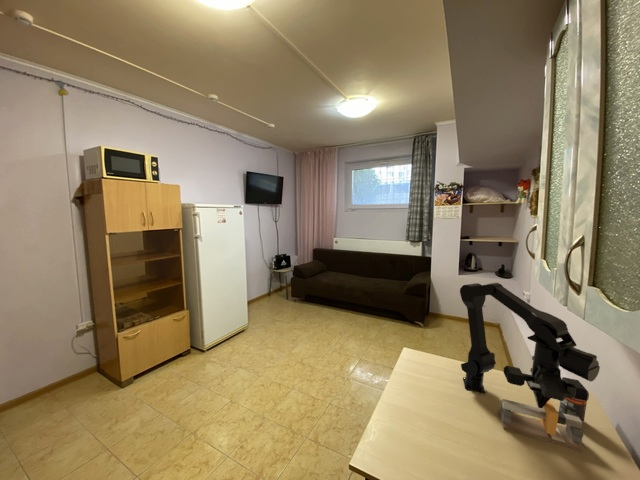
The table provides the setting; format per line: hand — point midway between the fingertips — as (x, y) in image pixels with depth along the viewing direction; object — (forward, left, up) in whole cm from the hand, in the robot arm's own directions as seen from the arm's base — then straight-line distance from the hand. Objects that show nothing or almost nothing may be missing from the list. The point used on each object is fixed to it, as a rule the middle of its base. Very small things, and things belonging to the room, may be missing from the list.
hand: (539, 407), depth 79 cm
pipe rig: (0, 0, -8) cm, 8 cm away
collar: (0, +2, -5) cm, 6 cm away
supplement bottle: (-10, +12, -8) cm, 18 cm away
